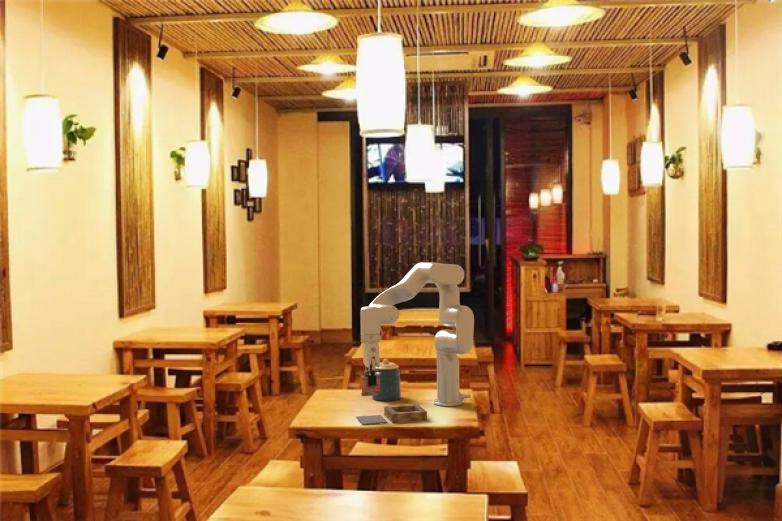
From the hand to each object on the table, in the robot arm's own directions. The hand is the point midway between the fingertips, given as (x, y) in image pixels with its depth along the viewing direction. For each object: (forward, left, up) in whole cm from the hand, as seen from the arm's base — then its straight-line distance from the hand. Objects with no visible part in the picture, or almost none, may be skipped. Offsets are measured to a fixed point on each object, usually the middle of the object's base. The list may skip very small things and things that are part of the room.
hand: (370, 383), depth 327 cm
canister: (-15, -38, -15) cm, 44 cm away
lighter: (0, 0, -4) cm, 4 cm away
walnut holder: (-14, -1, -15) cm, 20 cm away
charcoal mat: (0, 0, -15) cm, 15 cm away
